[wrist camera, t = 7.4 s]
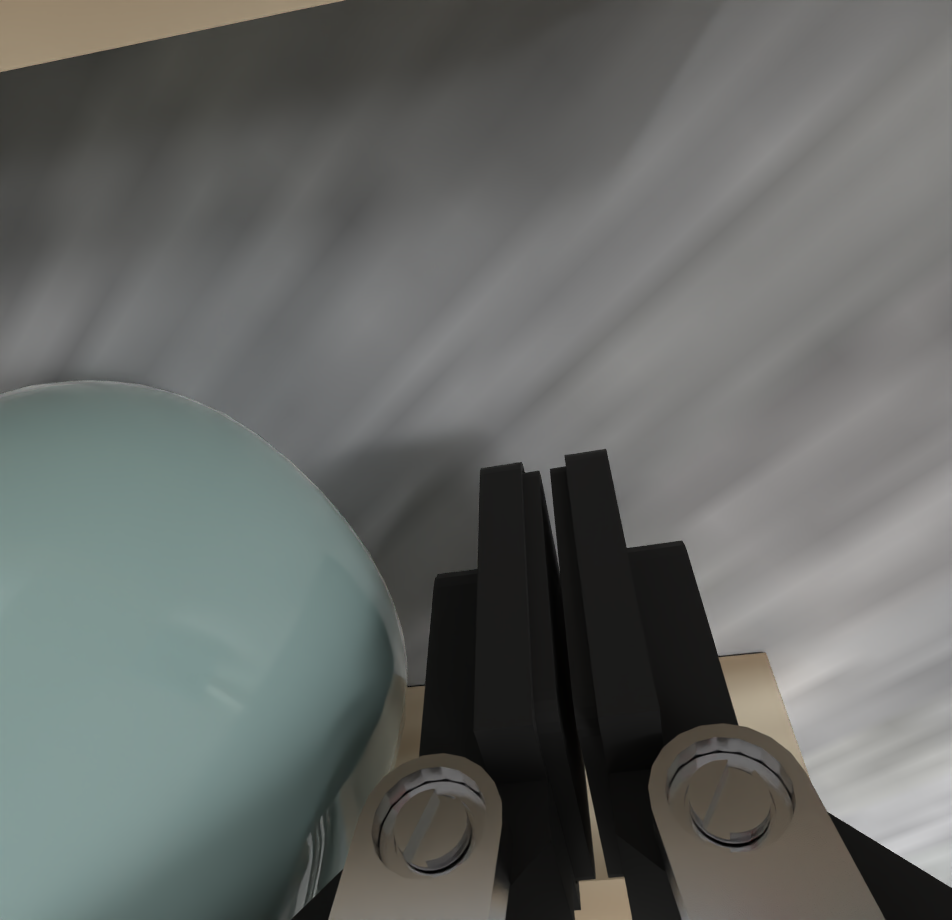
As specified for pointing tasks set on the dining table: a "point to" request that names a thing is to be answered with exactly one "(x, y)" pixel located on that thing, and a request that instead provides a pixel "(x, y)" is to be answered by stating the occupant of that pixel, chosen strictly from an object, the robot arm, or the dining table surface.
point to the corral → (222, 3)
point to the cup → (179, 664)
